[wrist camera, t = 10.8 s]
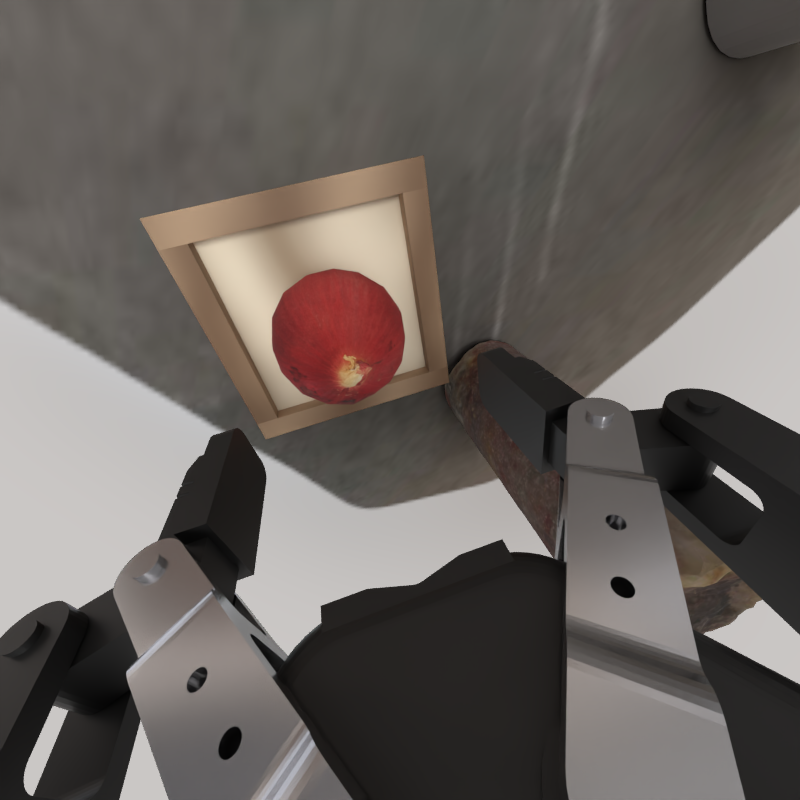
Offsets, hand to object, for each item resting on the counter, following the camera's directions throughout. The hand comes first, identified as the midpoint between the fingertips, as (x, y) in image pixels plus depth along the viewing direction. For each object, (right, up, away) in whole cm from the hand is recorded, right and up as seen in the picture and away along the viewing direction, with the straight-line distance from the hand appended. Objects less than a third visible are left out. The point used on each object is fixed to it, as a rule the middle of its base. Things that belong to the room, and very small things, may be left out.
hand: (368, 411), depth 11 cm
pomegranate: (-3, +5, +7) cm, 9 cm away
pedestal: (-4, +8, +11) cm, 14 cm away
